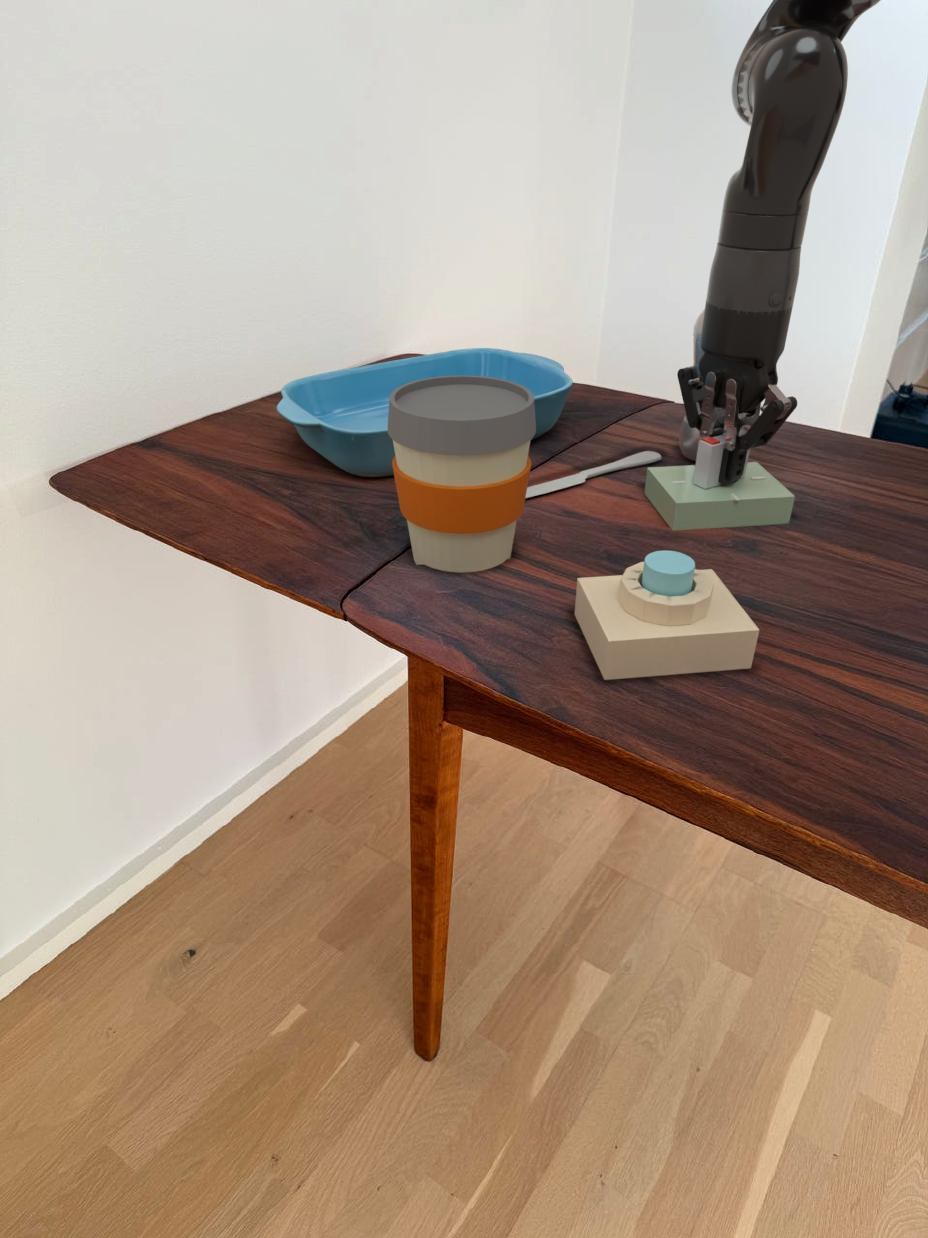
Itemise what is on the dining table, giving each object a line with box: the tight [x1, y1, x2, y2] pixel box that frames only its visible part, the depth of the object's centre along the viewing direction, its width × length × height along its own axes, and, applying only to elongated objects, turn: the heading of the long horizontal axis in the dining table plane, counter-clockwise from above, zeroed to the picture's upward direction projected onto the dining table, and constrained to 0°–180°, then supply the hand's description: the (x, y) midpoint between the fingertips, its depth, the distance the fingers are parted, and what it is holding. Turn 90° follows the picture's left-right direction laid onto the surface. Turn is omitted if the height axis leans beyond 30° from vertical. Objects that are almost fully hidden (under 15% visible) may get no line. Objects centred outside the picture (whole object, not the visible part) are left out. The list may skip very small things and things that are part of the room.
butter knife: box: [525, 450, 663, 499], centre depth 93 cm, size 1×24×3 cm
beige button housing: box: [574, 561, 760, 681], centre depth 64 cm, size 11×9×6 cm
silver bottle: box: [678, 308, 727, 462], centre depth 93 cm, size 6×7×20 cm
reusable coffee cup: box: [388, 375, 536, 573], centre depth 74 cm, size 13×12×15 cm
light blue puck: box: [642, 549, 696, 597], centre depth 62 cm, size 4×4×2 cm
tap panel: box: [644, 461, 796, 532], centre depth 86 cm, size 12×10×3 cm
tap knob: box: [693, 430, 751, 489], centre depth 84 cm, size 6×2×5 cm, turn 121°
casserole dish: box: [276, 347, 574, 478], centre depth 102 cm, size 37×22×7 cm, turn 123°
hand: (718, 477), depth 85 cm, fingers closed on tap knob, 2 cm apart
